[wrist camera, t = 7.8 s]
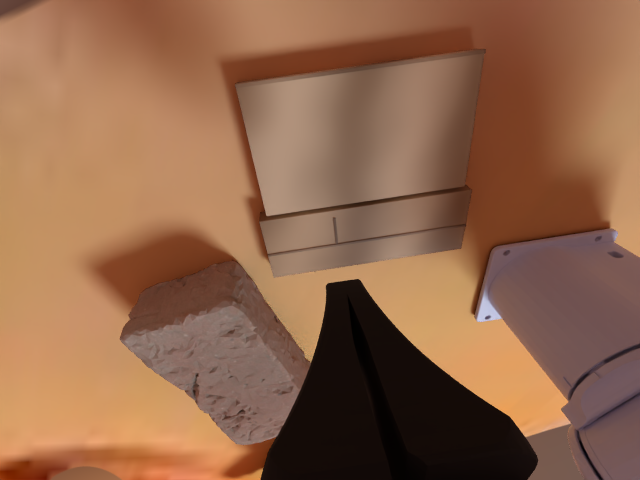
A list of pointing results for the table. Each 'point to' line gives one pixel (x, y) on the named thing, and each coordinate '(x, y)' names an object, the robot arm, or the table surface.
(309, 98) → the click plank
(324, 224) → the laid board
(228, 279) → the brick
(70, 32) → the table surface
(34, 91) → the table surface
